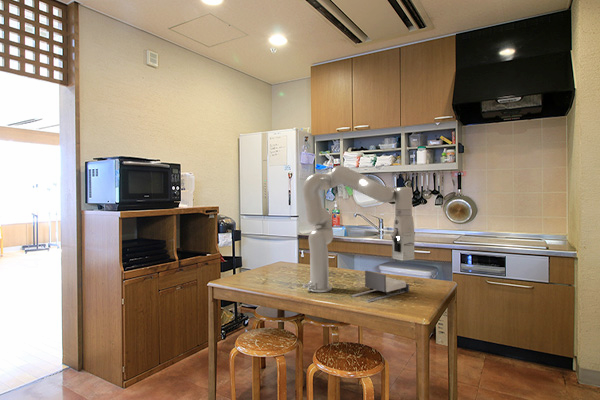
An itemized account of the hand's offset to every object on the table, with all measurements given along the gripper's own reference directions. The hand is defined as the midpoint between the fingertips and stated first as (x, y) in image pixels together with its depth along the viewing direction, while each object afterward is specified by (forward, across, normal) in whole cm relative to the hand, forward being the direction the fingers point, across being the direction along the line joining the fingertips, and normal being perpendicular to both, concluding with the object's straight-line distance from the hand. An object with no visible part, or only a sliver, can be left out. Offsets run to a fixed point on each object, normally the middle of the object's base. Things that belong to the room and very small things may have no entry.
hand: (403, 250), depth 166 cm
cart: (+22, 0, +11) cm, 25 cm away
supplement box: (+4, 0, 0) cm, 4 cm away
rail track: (+23, -4, +11) cm, 26 cm away
